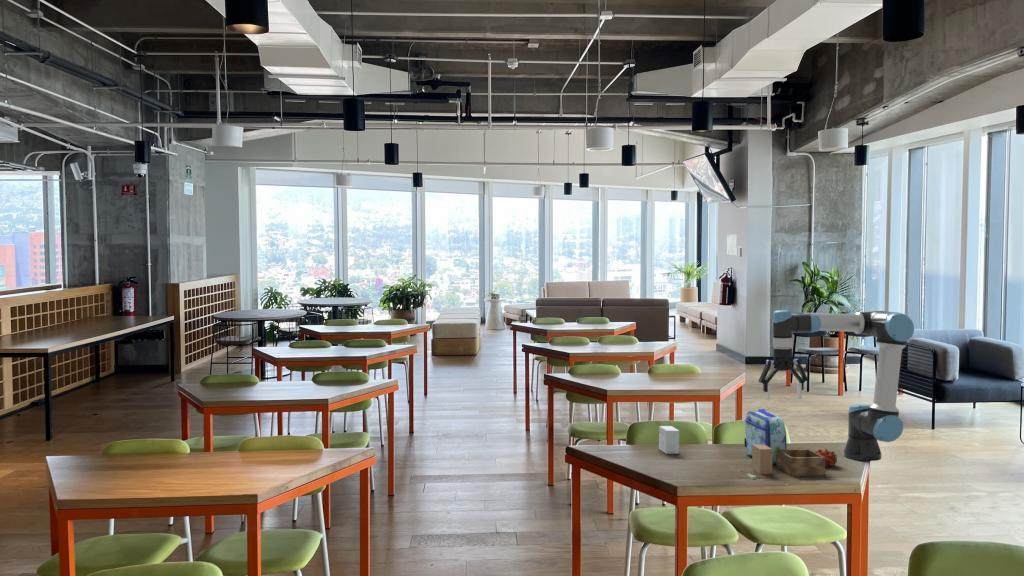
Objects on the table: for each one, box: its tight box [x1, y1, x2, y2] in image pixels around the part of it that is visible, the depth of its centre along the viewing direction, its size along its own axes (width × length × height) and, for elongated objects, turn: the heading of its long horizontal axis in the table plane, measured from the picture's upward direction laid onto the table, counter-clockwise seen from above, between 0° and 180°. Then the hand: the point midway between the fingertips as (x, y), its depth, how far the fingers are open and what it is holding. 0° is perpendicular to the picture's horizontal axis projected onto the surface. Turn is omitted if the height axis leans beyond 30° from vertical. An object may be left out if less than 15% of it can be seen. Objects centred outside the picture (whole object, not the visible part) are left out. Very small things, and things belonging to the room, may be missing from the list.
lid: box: [740, 445, 773, 480], centre depth 320 cm, size 14×14×11 cm
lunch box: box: [744, 408, 788, 465], centre depth 342 cm, size 26×11×21 cm, turn 3°
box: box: [775, 448, 826, 477], centre depth 321 cm, size 14×14×8 cm
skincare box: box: [658, 425, 680, 455], centre depth 357 cm, size 10×6×10 cm, turn 7°
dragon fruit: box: [815, 448, 838, 469], centre depth 329 cm, size 8×8×12 cm
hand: (783, 399), depth 327 cm, fingers open, 13 cm apart
